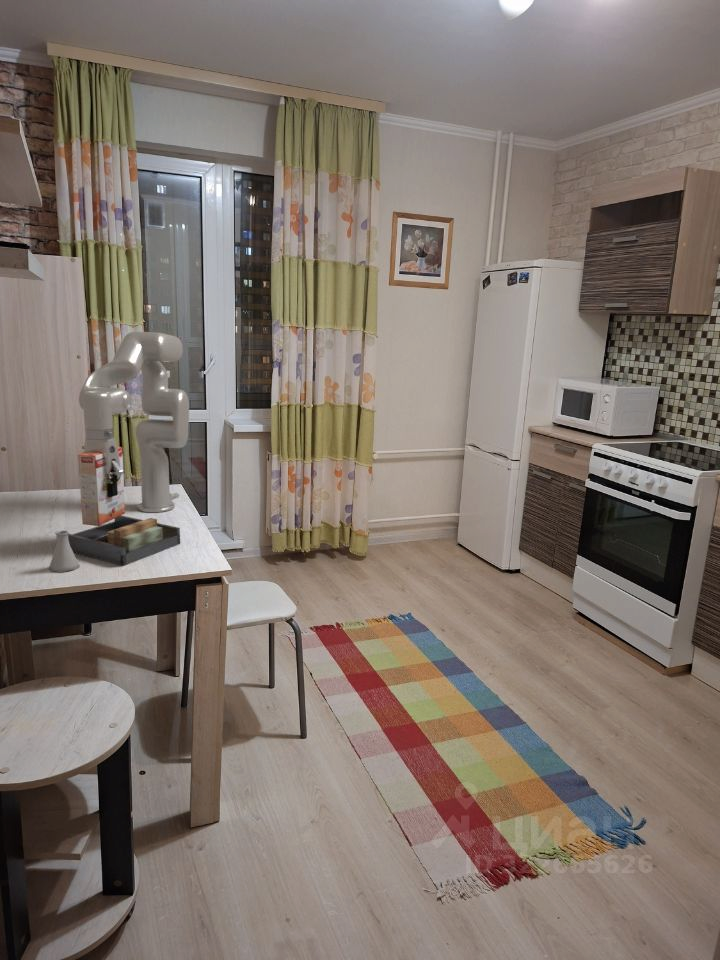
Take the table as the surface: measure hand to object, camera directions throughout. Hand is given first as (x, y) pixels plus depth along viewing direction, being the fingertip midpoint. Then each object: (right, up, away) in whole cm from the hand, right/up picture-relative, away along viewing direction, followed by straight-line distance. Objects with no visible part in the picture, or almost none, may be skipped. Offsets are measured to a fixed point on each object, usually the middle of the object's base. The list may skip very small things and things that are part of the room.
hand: (103, 493), depth 192 cm
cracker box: (0, -8, +2) cm, 8 cm away
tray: (+5, -16, 0) cm, 16 cm away
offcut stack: (+11, -17, -3) cm, 20 cm away
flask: (-4, -20, -17) cm, 26 cm away
